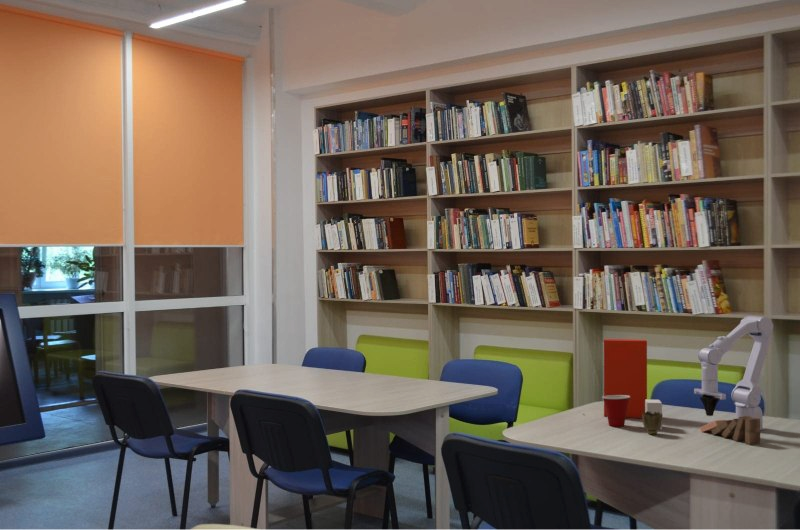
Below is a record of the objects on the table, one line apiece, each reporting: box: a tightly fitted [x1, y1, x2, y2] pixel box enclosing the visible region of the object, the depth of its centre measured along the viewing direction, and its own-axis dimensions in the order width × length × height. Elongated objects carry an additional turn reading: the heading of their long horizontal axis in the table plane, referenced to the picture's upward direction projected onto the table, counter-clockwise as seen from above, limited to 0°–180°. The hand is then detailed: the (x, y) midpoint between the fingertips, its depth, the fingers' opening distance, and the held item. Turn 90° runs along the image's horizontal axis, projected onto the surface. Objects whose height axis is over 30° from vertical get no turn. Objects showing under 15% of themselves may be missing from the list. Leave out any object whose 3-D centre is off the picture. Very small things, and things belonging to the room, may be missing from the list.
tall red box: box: [603, 338, 648, 419], centre depth 340 cm, size 8×17×32 cm, turn 76°
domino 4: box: [732, 416, 752, 443], centre depth 292 cm, size 5×2×9 cm, turn 111°
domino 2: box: [710, 419, 733, 436], centre depth 300 cm, size 5×2×9 cm
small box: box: [645, 398, 663, 431], centre depth 316 cm, size 8×6×10 cm
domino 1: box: [699, 419, 727, 433], centre depth 305 cm, size 5×2×9 cm
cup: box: [641, 411, 663, 436], centre depth 304 cm, size 8×7×8 cm
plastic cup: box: [601, 395, 630, 428], centre depth 320 cm, size 11×11×12 cm
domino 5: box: [744, 418, 761, 446], centre depth 288 cm, size 5×2×9 cm, turn 112°
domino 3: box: [721, 418, 738, 439], centre depth 296 cm, size 5×2×9 cm
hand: (709, 415), depth 307 cm, fingers closed
